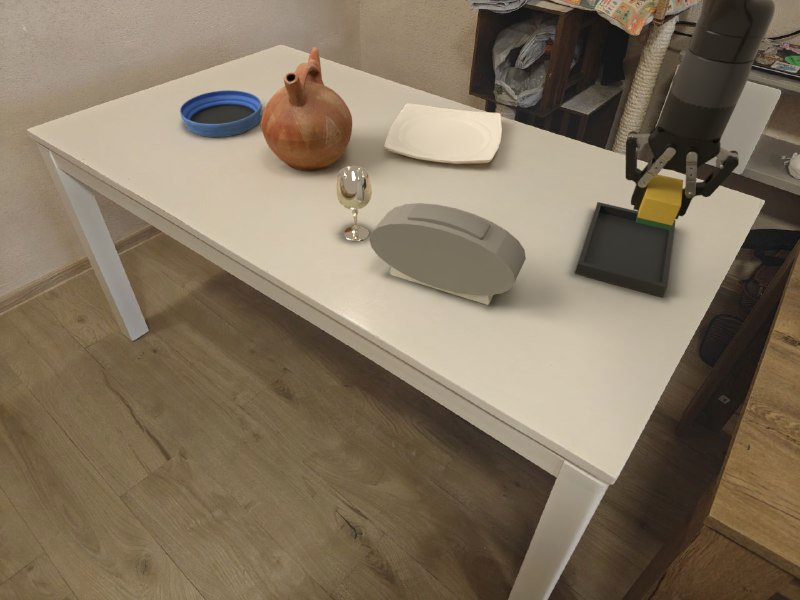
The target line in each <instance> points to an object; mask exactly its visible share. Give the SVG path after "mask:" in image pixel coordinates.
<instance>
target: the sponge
mask: <svg viewBox="0 0 800 600" xmlns="http://www.w3.org/2000/svg"><path fill="white" fill-rule="evenodd" d="M682 189H684V180H683V179H680V178H676V177H671V176H666V175H662V174H657V175H656V176H655V177H653V179H652V180H651V181H650V182H649V183H648V185H647V190H646V192H645V195H644V197H643V200H642V203H641V205H640V208H639V210H637V211H638V213H637V218H636V223H641V224H645V225H649V226H653V227H658V228H662V229H666V230H671V227H672V225H673V223H674V221H675V220H676V219H675V218H676V216H677V214H678V212H679V209H680V207H681V201H682Z"/></svg>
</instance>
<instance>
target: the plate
mask: <svg viewBox="0 0 800 600" xmlns="http://www.w3.org/2000/svg"><path fill="white" fill-rule="evenodd" d="M388 130H389V131H388V133H387V135H386V139H385V143H384V147H383V148H384V149H385V150H387V151H388V152H391V153H394V154H397V155H402V156H405V157H409V158H412V159H416V160H421V161H422V160H423V161H429V162H435V163H444V164H454V165H463V164H466V165H467V164H487V163H490V162H492V160H493V159H494V157H495V155H496V154H497V153H498V150H499V147H500V144H501V142H502V134H503V133H502V132H503V129H502V114H501V113H499V112H487V111H477V110H476V111H475V110H473V111H472V110H464V109H456V108H455V109H454V108H446V107H445V108H444V107H436V106H429V105H424V104H423V105H422V104H416V103H411V102H409V103H408V102H407V103H405V105H404V106H403V107H402V109H401V111H400V112H399V113H398V114H397V116H396V117H395V119H394V121H393V123H392V124H391V126H390V128H389V129H388Z"/></svg>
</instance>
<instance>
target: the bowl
mask: <svg viewBox="0 0 800 600" xmlns="http://www.w3.org/2000/svg"><path fill="white" fill-rule="evenodd" d="M262 109H263V105H262V101H261V99H260V98H259V97H258V96H257V95H255V94H253V93H251V92H246V91H241V90H235V89H234V90H233V89H232V90H230V89H226V90H215V91H209V92H204V93H201V94H198V95H196V96H193V97H191V98H190V99H187V100H186V101H185V102H184V103H182V104H181V106H180V109H179V113H180V118H181V119H182V122H184V124H185V126H186V128H187V129H188V130H189V131H190V132H192V133H193V134H195V135H199V136H202V137H211V138H223V137H230V136H235V135H241V134H243V133H246V132H247V131H250V130H251V129H253V128H254V127H256V126H257V125H258V124H259V123H260V122H261V120H262V112H263V111H262Z"/></svg>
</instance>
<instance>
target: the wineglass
mask: <svg viewBox="0 0 800 600" xmlns="http://www.w3.org/2000/svg"><path fill="white" fill-rule="evenodd" d="M372 189H373V188H372V183H371V179H370V175H369V172H368V169H366V168H365V167H363V166H360V165H348V166H345V167H343V168H341V169H339V171H338V175H337V180H336V197H337V200H338V202H339V203H340V205H341V206H343V207H344V208H346V209H348V210H352V211H351V213H352V216H353V219H354V221H353V222H354V225H351V226H348V227H346V229H345V230H344V231H343V236H344V238H345V239H346V240H348V241H352V242H361V241H364V240H366V239H367V238H368V237H369V236H370V231H369V229H368V228H366V227H365V226H364V225H363V226H362V225H358V215H359V210H360V209H363V208H365V207H366V206H367V205H368V204H369V203H370V201H371V199H372V193H373V191H372Z"/></svg>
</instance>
